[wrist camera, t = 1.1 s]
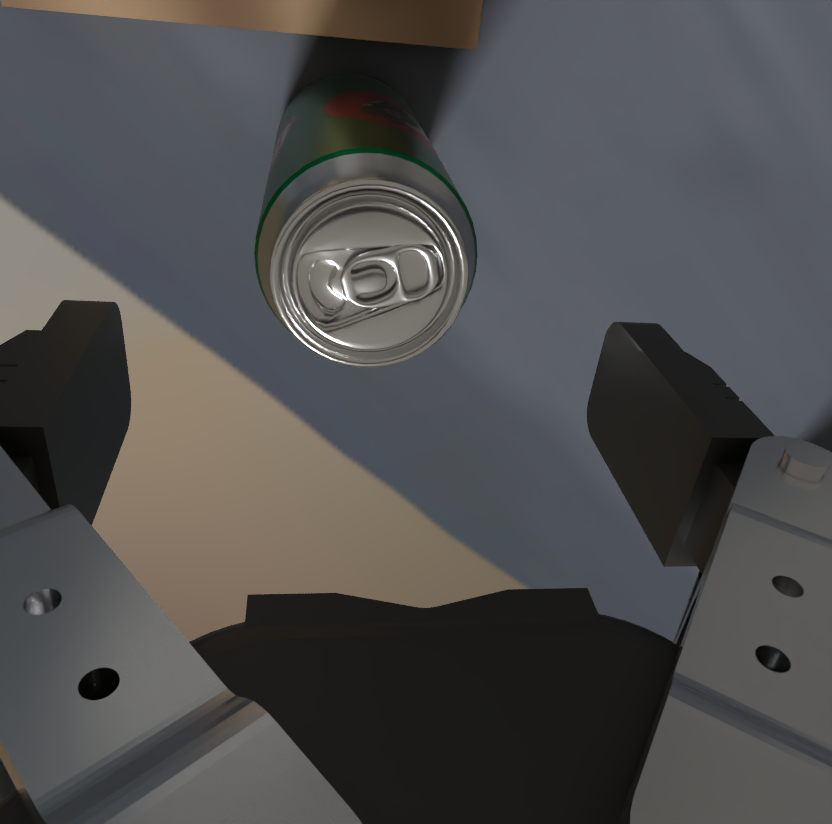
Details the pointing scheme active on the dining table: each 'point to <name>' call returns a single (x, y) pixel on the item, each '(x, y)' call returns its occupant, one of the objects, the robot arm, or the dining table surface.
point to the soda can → (361, 227)
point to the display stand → (302, 16)
